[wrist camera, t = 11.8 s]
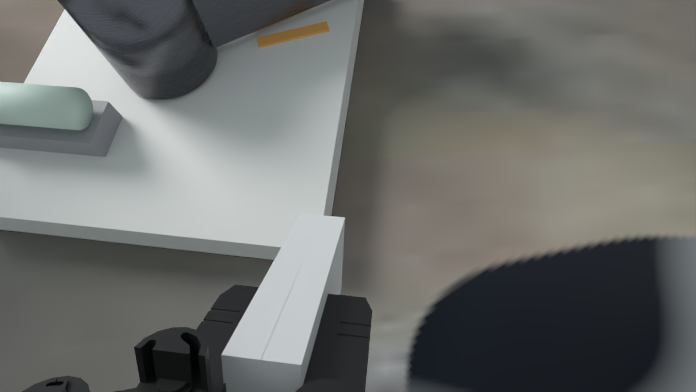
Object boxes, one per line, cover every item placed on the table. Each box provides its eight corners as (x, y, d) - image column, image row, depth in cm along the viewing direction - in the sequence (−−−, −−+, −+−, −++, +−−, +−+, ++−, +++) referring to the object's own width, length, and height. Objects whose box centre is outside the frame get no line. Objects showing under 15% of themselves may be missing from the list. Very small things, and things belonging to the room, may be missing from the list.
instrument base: (-6, 228, 27) (-122, 181, 21) (121, -24, 37) (68, -109, 30) (323, 265, 25) (307, 225, 18) (366, -14, 34) (365, -103, 28)
